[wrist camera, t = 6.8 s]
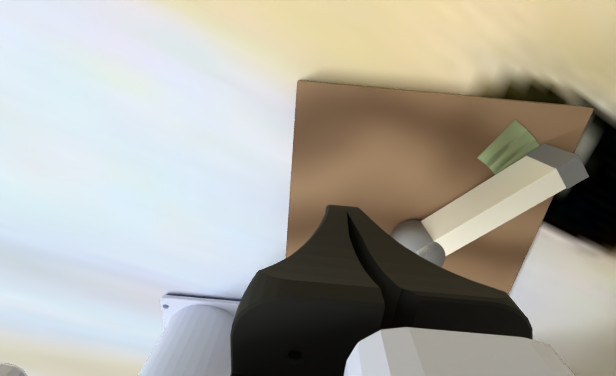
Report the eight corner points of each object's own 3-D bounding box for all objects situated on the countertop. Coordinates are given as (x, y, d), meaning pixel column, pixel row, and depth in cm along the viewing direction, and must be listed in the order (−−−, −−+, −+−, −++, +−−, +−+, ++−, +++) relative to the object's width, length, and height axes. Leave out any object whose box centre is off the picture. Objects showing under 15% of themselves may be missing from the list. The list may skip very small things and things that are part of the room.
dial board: (477, 327, 27) (486, 343, 25) (283, 311, 27) (281, 325, 25) (573, 105, 19) (595, 108, 17) (298, 80, 19) (297, 81, 17)
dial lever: (403, 261, 22) (414, 285, 20) (381, 234, 21) (389, 256, 19) (558, 170, 19) (593, 185, 16) (539, 134, 18) (573, 145, 16)
